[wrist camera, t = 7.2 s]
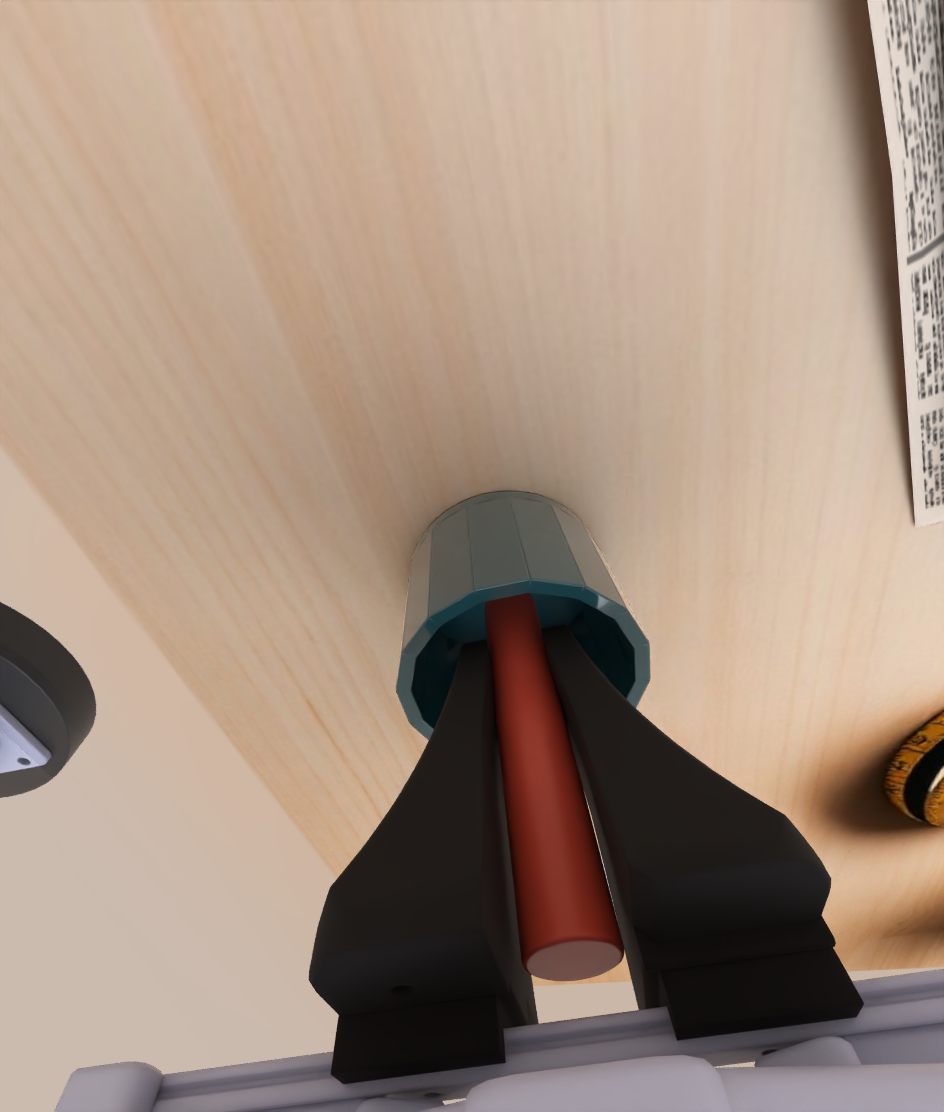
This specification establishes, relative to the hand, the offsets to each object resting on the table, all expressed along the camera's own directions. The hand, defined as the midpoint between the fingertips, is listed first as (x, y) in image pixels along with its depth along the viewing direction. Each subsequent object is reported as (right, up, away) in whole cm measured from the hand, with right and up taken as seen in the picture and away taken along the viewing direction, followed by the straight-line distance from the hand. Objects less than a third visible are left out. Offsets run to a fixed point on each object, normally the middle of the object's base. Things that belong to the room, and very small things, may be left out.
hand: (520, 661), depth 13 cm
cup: (0, +2, +4) cm, 4 cm away
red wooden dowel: (0, +1, +2) cm, 2 cm away
